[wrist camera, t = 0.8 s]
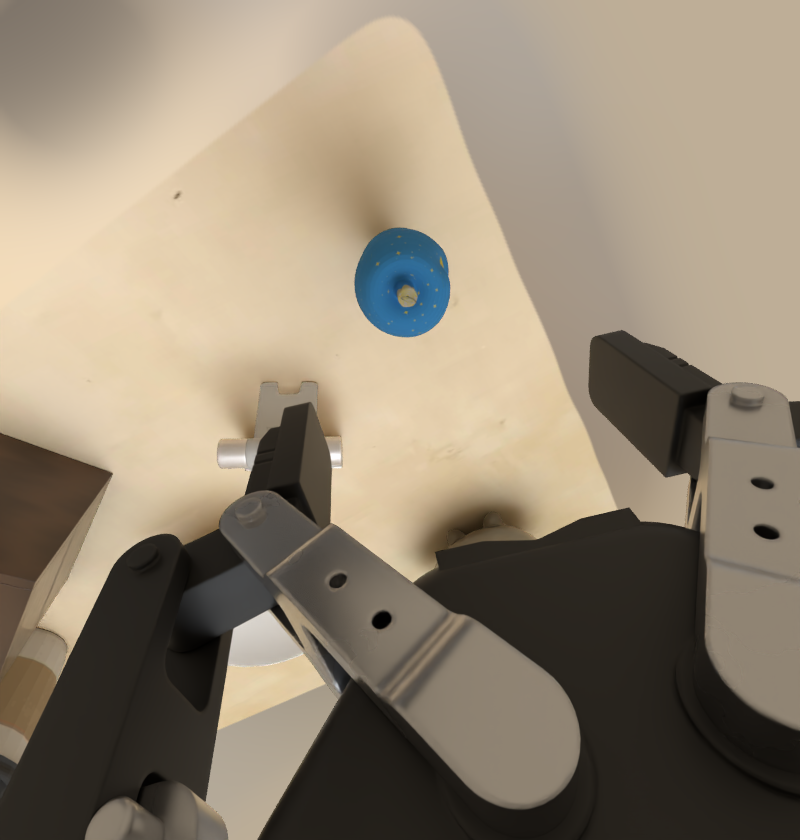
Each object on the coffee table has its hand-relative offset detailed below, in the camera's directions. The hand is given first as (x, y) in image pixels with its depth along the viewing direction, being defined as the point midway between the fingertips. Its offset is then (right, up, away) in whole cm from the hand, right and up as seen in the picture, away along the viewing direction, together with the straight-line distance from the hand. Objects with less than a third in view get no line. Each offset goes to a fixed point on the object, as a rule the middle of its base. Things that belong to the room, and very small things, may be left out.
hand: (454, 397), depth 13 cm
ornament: (-3, +12, +20) cm, 24 cm away
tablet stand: (-11, -1, +27) cm, 29 cm away
